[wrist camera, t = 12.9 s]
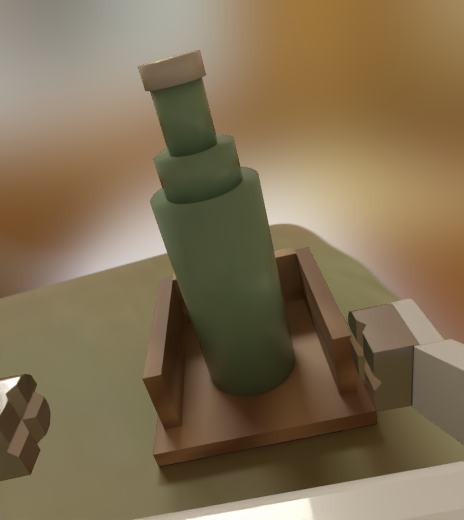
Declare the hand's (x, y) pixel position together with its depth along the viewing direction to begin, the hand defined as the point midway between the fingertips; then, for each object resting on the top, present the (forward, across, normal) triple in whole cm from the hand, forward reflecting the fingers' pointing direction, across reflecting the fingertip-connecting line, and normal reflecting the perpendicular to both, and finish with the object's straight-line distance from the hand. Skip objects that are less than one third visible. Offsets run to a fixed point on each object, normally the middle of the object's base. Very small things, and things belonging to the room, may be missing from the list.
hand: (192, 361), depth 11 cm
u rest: (+13, -1, +13) cm, 18 cm away
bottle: (+12, -1, +12) cm, 17 cm away
